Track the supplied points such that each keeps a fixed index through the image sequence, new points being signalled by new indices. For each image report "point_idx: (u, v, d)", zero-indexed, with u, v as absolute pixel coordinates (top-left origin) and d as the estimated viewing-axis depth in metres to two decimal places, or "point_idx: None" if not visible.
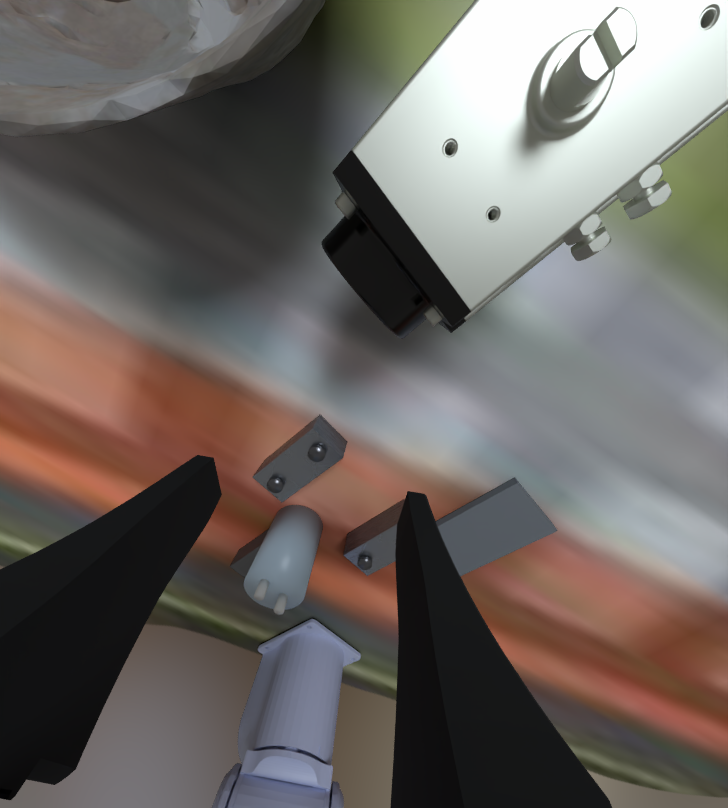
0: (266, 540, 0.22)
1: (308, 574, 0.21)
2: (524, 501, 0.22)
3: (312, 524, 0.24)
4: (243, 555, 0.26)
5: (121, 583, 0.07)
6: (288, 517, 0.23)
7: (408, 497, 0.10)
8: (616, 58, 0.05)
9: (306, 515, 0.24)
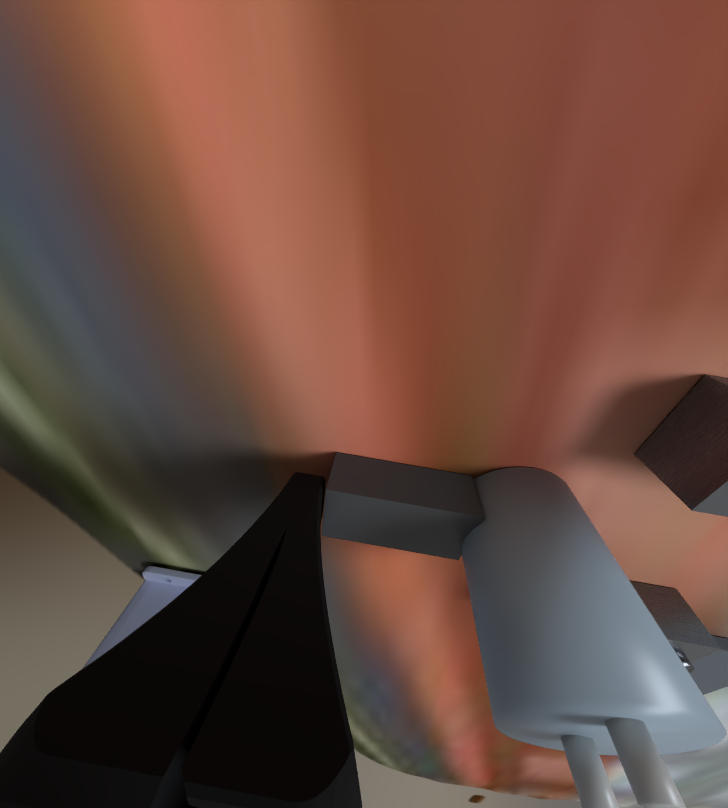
0: (592, 564, 0.07)
1: None
2: None
3: None
4: (379, 490, 0.10)
5: None
6: (586, 516, 0.09)
7: (304, 479, 0.10)
8: None
9: None
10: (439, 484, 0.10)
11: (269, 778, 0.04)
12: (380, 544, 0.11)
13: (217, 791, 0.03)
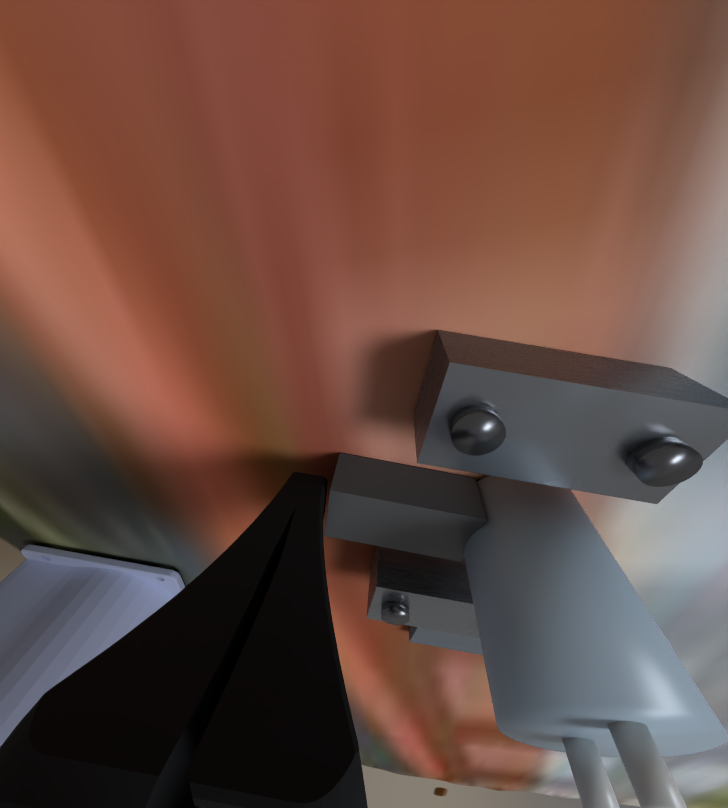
0: (596, 568, 0.07)
1: None
2: None
3: None
4: (383, 491, 0.10)
5: None
6: (588, 519, 0.09)
7: (306, 479, 0.10)
8: None
9: None
10: (442, 486, 0.10)
11: (275, 779, 0.04)
12: (382, 545, 0.11)
13: (223, 792, 0.03)
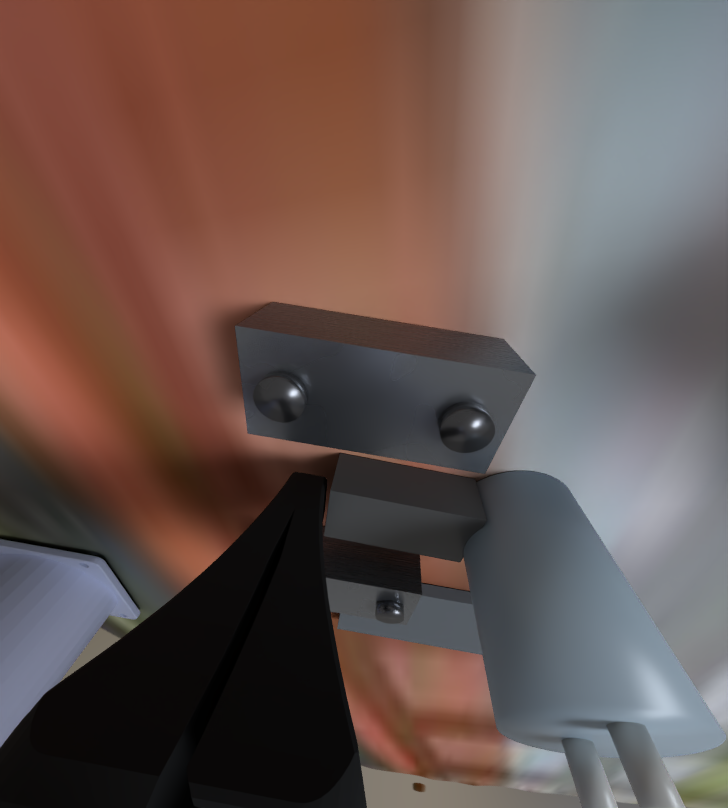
0: (595, 569, 0.07)
1: None
2: None
3: None
4: (383, 492, 0.10)
5: None
6: (587, 521, 0.09)
7: (306, 479, 0.10)
8: None
9: None
10: (442, 487, 0.10)
11: (274, 779, 0.04)
12: (382, 546, 0.11)
13: (222, 792, 0.03)
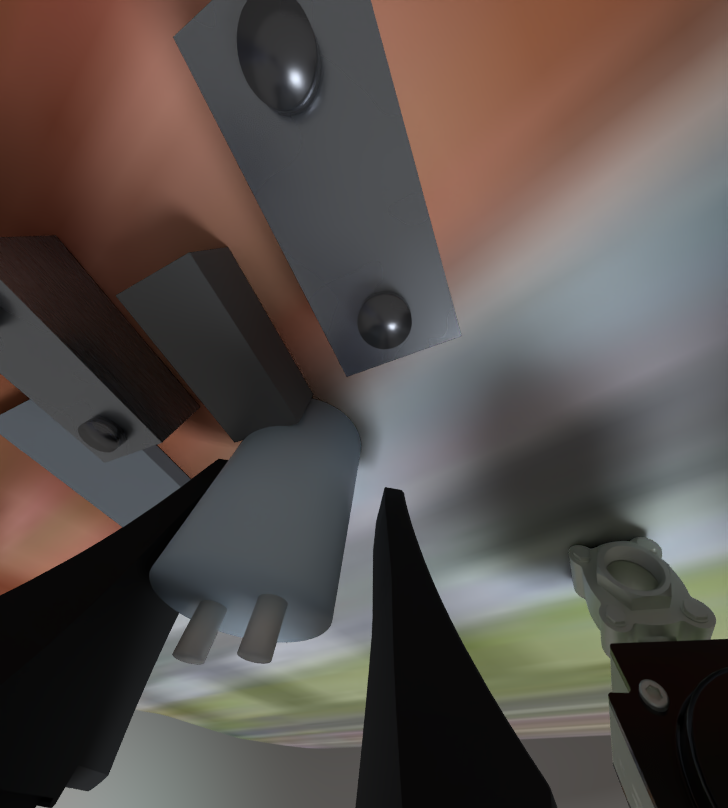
0: (343, 502, 0.08)
1: None
2: None
3: None
4: (240, 318, 0.08)
5: (151, 589, 0.07)
6: None
7: (384, 493, 0.10)
8: None
9: None
10: (288, 372, 0.09)
11: None
12: (176, 367, 0.08)
13: None
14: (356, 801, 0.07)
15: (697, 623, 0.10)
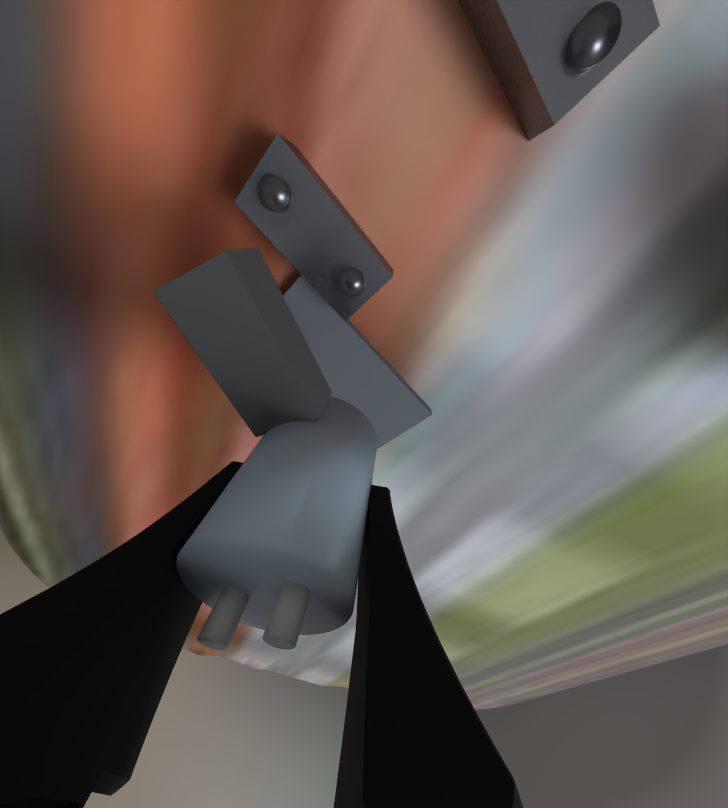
0: (362, 496, 0.09)
1: None
2: (403, 423, 0.19)
3: None
4: (269, 315, 0.08)
5: (172, 592, 0.07)
6: None
7: (370, 490, 0.10)
8: None
9: None
10: (310, 369, 0.10)
11: None
12: (204, 361, 0.09)
13: None
14: (335, 797, 0.07)
15: None
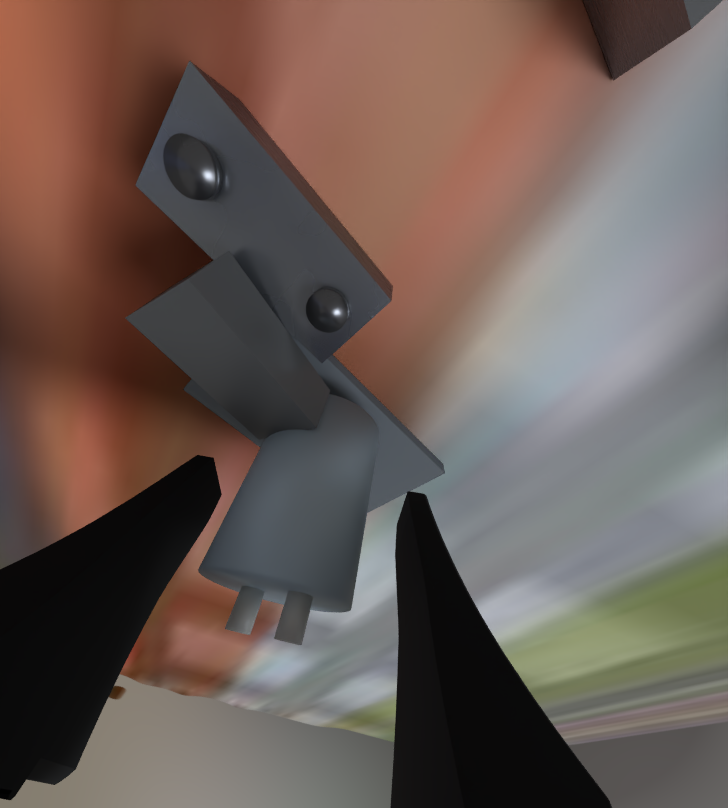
0: (360, 503, 0.09)
1: None
2: (406, 483, 0.14)
3: None
4: (249, 335, 0.07)
5: (121, 583, 0.07)
6: None
7: (408, 497, 0.10)
8: None
9: None
10: (303, 376, 0.09)
11: None
12: (195, 379, 0.09)
13: None
14: None
15: None
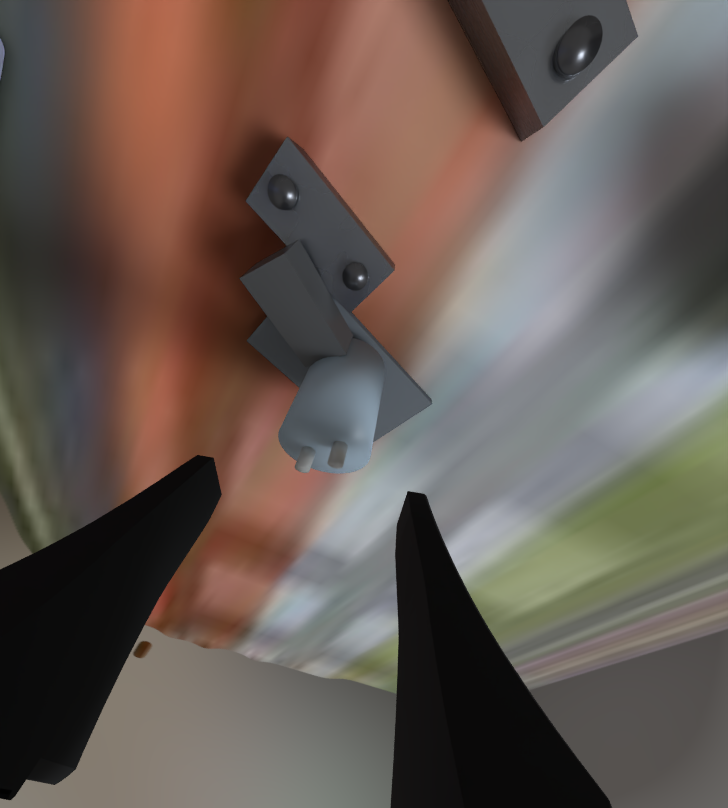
0: (374, 401, 0.14)
1: None
2: (404, 413, 0.19)
3: None
4: (311, 289, 0.13)
5: (121, 583, 0.07)
6: None
7: (408, 497, 0.10)
8: None
9: None
10: (338, 321, 0.14)
11: None
12: (272, 320, 0.14)
13: None
14: None
15: None
